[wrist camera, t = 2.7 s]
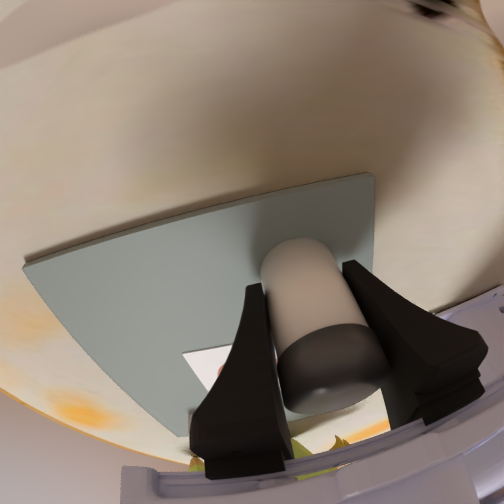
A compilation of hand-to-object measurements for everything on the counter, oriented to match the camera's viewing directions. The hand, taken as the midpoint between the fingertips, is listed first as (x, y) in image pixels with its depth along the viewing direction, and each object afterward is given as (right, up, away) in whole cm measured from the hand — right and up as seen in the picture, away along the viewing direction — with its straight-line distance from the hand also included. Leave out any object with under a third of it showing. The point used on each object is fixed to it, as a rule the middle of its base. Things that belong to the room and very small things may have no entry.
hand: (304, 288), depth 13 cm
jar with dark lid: (0, +1, +1) cm, 1 cm away
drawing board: (-4, -6, +6) cm, 9 cm away
